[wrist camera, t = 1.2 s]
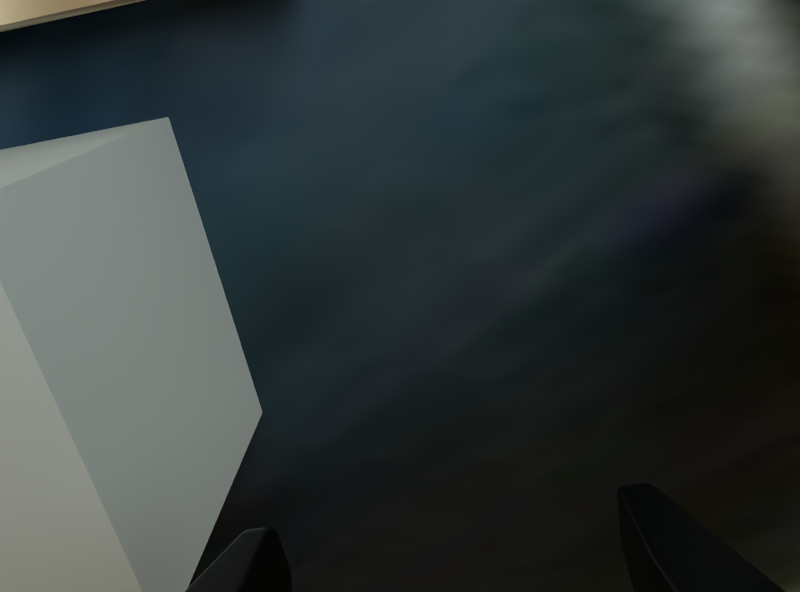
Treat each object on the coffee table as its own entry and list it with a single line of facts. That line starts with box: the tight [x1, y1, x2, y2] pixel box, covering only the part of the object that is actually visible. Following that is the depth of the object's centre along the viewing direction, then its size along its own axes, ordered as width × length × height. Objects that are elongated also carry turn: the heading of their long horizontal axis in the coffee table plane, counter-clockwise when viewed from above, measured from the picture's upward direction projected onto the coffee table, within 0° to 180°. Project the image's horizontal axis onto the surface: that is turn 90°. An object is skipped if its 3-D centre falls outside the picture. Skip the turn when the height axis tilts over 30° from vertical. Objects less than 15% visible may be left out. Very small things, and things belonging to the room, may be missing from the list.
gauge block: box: [0, 117, 262, 592], centre depth 17 cm, size 8×10×9 cm
